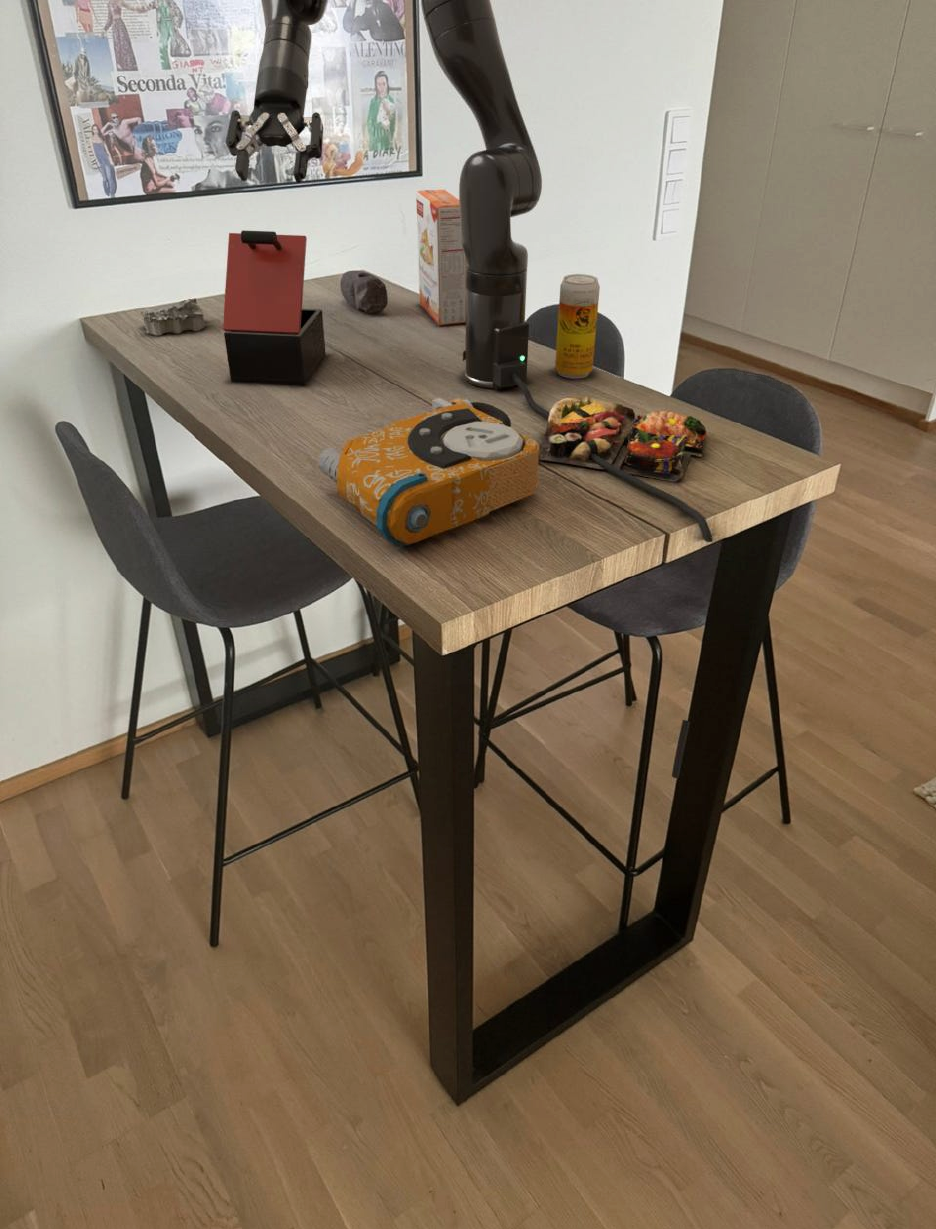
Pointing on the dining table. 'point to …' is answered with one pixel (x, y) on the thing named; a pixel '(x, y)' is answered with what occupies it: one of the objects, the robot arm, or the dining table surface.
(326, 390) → the dining table surface
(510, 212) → the robot arm
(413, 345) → the dining table surface
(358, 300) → the perforated stone tool
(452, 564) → the dining table surface
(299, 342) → the black open box
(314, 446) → the dining table surface
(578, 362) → the beer can
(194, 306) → the egg carton
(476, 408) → the device
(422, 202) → the cracker box
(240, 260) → the lid
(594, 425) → the food
